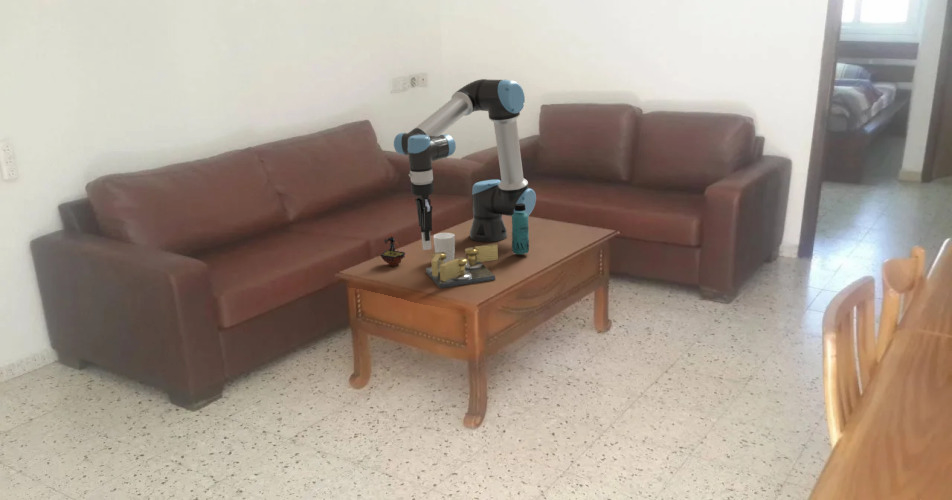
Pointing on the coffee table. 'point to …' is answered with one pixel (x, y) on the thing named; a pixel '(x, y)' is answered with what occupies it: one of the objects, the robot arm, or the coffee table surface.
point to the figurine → (392, 253)
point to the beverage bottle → (520, 230)
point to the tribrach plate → (465, 276)
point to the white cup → (445, 245)
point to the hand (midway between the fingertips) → (427, 248)
